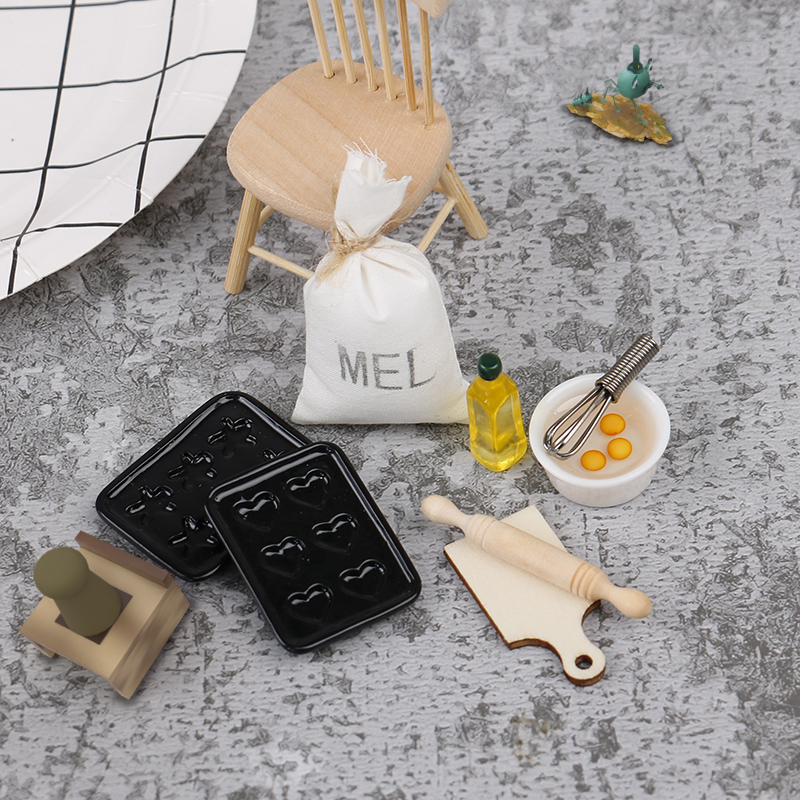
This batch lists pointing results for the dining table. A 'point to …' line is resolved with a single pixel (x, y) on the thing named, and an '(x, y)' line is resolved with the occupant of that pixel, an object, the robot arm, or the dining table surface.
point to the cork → (77, 591)
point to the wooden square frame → (132, 630)
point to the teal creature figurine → (625, 105)
